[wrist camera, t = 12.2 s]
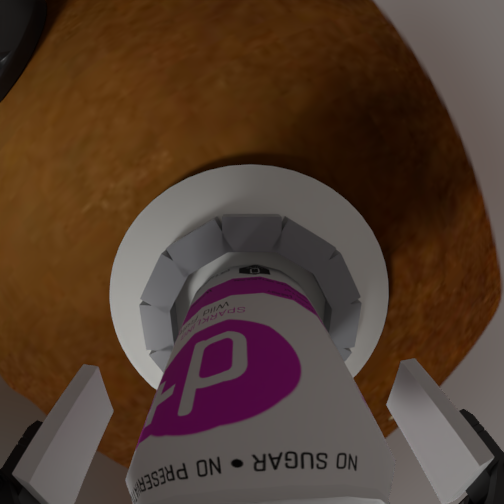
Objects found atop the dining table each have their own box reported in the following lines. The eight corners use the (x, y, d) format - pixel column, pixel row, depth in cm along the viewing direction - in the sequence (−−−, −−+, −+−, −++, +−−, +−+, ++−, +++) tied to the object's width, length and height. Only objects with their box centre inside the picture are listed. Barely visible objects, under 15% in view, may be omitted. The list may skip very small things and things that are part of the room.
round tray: (105, 172, 18) (86, 172, 15) (392, 173, 18) (412, 173, 16) (140, 406, 22) (131, 426, 20) (358, 403, 23) (368, 422, 20)
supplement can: (167, 292, 19) (54, 488, 4) (284, 240, 18) (409, 422, 3) (222, 382, 20) (210, 572, 6) (326, 342, 20) (413, 526, 5)
